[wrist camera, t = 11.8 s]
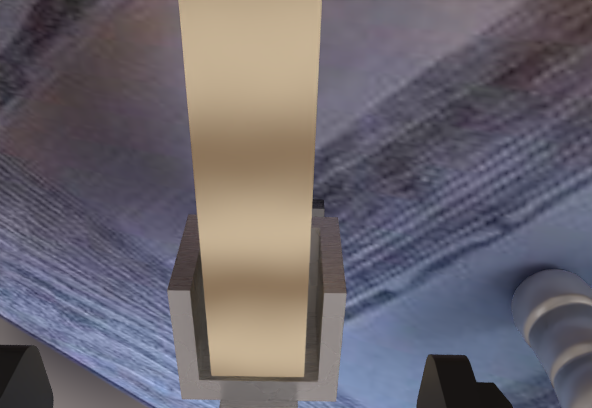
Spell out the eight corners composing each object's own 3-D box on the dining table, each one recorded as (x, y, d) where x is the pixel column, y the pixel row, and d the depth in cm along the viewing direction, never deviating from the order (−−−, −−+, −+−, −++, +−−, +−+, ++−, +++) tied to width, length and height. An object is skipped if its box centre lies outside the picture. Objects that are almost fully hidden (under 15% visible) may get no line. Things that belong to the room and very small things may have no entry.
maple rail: (191, -256, 19) (153, -290, 14) (324, -252, 19) (335, -285, 14) (224, 290, 32) (211, 375, 27) (302, 291, 32) (304, 377, 27)
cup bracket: (213, 125, 39) (141, 381, 21) (328, 128, 39) (356, 384, 21) (221, 260, 46) (172, 544, 28) (319, 261, 46) (336, 546, 28)
